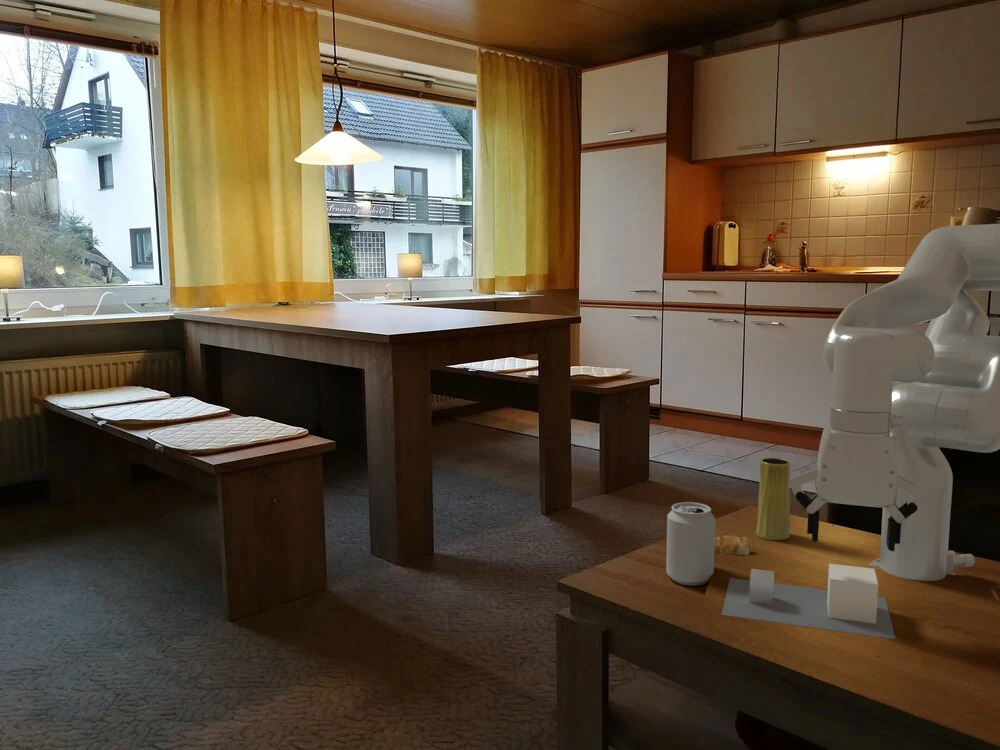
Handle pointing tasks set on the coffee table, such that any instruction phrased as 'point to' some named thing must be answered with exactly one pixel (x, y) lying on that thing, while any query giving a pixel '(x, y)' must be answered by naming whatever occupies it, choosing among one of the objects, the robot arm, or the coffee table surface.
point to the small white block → (761, 587)
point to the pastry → (731, 545)
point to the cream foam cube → (852, 593)
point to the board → (801, 609)
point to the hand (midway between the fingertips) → (851, 543)
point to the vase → (774, 499)
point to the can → (690, 543)
